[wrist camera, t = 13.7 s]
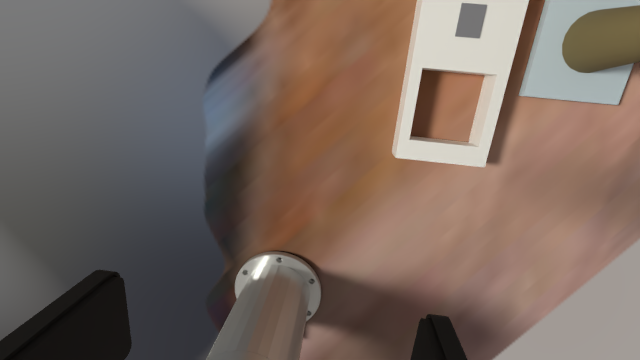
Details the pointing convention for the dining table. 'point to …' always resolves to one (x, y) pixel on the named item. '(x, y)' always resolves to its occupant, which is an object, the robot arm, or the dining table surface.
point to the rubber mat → (550, 68)
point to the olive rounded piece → (603, 40)
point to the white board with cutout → (459, 70)
